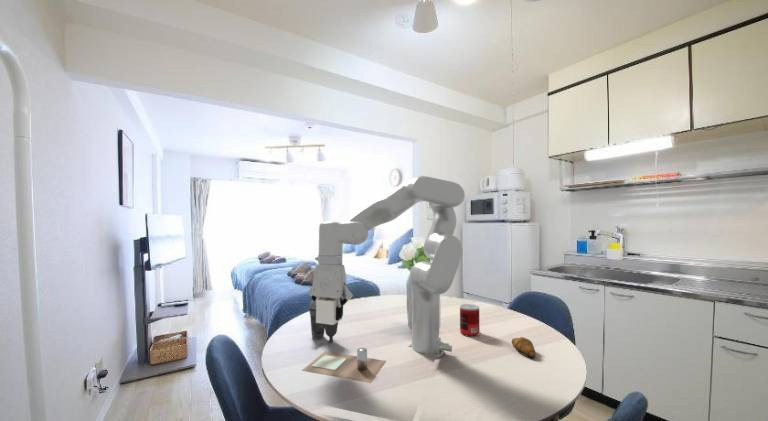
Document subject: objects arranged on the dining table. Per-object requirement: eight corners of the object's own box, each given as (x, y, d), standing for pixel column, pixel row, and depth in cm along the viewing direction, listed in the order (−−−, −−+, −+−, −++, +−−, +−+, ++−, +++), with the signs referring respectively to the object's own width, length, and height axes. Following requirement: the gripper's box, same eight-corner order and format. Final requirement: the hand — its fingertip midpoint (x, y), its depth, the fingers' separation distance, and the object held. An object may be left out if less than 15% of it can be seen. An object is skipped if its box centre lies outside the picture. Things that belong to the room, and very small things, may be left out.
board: (386, 365, 97) (386, 360, 97) (370, 388, 83) (370, 381, 84) (325, 355, 104) (325, 350, 104) (301, 375, 90) (301, 369, 90)
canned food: (481, 332, 127) (481, 305, 127) (476, 338, 120) (476, 310, 120) (463, 328, 131) (463, 302, 131) (457, 334, 124) (457, 307, 124)
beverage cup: (325, 341, 117) (325, 288, 117) (306, 340, 117) (306, 288, 118) (328, 334, 124) (329, 284, 125) (311, 333, 124) (311, 284, 125)
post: (368, 366, 93) (368, 348, 93) (364, 371, 90) (364, 352, 90) (359, 365, 94) (359, 347, 94) (355, 369, 91) (355, 350, 91)
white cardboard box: (333, 324, 92) (333, 300, 92) (315, 322, 94) (316, 299, 94) (342, 319, 98) (342, 296, 98) (325, 317, 100) (325, 294, 100)
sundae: (343, 343, 114) (343, 303, 115) (334, 351, 108) (335, 308, 108) (327, 341, 116) (328, 301, 117) (318, 348, 110) (318, 306, 110)
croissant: (543, 359, 101) (543, 344, 102) (524, 360, 101) (523, 345, 101) (522, 343, 115) (522, 330, 115) (505, 344, 114) (505, 330, 115)
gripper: (300, 260, 96) (299, 318, 95) (350, 263, 90) (349, 324, 90) (313, 258, 103) (311, 312, 102) (360, 260, 97) (359, 317, 97)
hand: (329, 317), depth 96 cm, fingers closed on white cardboard box, 6 cm apart
